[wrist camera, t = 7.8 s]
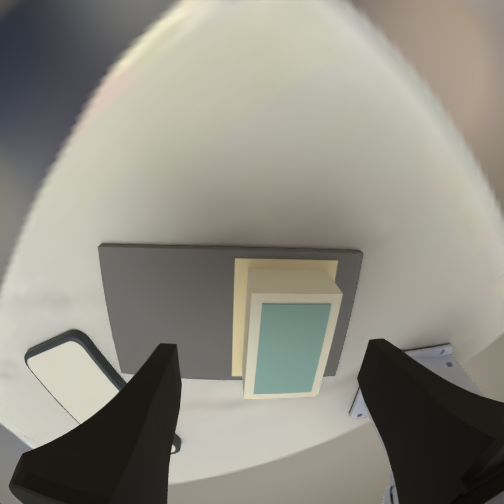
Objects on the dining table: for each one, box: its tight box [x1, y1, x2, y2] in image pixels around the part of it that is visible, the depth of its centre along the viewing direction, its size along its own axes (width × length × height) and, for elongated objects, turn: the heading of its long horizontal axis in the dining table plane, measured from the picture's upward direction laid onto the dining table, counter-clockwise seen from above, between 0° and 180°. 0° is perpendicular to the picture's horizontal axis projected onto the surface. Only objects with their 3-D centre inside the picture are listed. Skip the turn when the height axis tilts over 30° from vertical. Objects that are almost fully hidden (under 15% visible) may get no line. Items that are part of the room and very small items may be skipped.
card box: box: [242, 268, 343, 399], centre depth 19 cm, size 8×5×3 cm, turn 176°
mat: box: [98, 244, 363, 380], centre depth 20 cm, size 17×10×1 cm, turn 87°
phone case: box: [24, 330, 181, 454], centre depth 23 cm, size 9×2×16 cm
